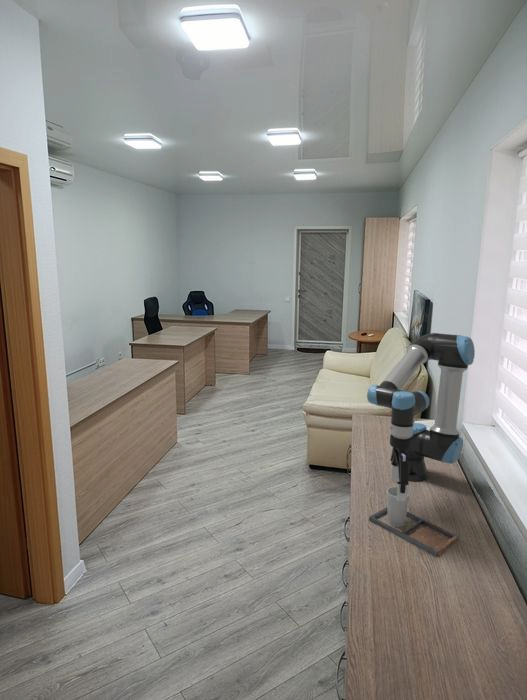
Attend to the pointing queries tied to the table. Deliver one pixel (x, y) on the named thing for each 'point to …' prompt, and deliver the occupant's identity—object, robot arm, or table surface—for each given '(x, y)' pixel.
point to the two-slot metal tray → (420, 533)
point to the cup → (396, 507)
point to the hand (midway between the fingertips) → (397, 491)
